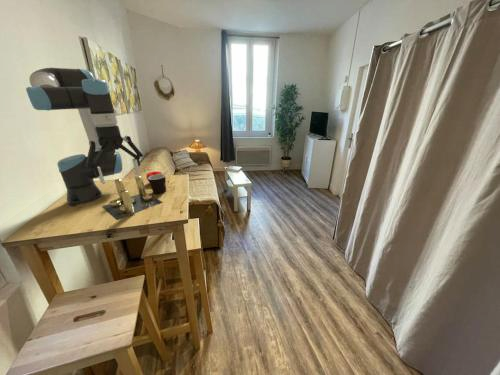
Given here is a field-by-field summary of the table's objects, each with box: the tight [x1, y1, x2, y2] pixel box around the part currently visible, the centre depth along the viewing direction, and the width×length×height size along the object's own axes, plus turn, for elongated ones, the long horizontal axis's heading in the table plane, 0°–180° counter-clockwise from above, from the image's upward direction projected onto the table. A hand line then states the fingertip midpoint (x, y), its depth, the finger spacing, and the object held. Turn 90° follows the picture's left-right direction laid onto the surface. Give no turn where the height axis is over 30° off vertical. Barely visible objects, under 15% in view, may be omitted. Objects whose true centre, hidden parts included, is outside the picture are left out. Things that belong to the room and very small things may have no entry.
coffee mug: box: [148, 173, 167, 195], centre depth 116 cm, size 12×9×10 cm
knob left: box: [134, 175, 154, 201], centre depth 107 cm, size 9×4×11 cm, turn 50°
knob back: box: [109, 178, 126, 207], centre depth 102 cm, size 9×4×11 cm, turn 170°
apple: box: [145, 171, 163, 184], centre depth 128 cm, size 9×9×8 cm
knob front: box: [120, 189, 136, 217], centre depth 94 cm, size 9×4×11 cm, turn 50°
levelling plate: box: [101, 193, 163, 221], centre depth 103 cm, size 20×21×3 cm
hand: (121, 178), depth 87 cm, fingers open, 13 cm apart
